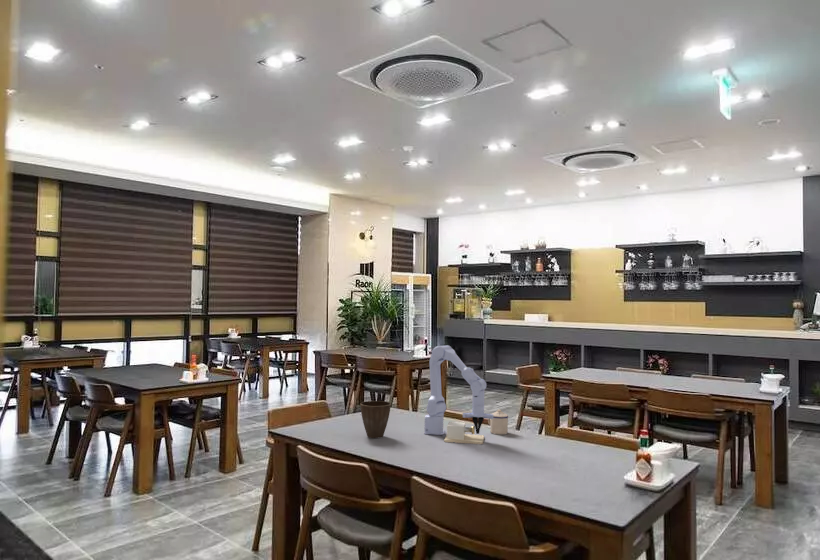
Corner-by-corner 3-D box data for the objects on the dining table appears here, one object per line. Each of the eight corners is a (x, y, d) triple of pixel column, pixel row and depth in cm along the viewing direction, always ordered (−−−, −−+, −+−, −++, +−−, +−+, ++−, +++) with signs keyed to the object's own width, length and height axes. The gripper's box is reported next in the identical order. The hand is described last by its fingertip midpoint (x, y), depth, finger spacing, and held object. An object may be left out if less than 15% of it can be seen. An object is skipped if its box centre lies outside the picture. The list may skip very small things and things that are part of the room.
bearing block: (444, 441, 269) (444, 426, 269) (447, 435, 283) (447, 420, 283) (482, 444, 266) (482, 428, 266) (483, 437, 280) (484, 422, 280)
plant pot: (354, 438, 273) (354, 404, 273) (367, 431, 286) (368, 399, 287) (382, 441, 267) (383, 407, 268) (395, 435, 281) (395, 402, 281)
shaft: (448, 433, 274) (448, 425, 274) (449, 431, 278) (449, 423, 278) (474, 435, 272) (474, 426, 272) (474, 433, 275) (474, 425, 276)
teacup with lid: (511, 433, 289) (512, 410, 290) (499, 435, 284) (499, 412, 284) (494, 429, 299) (494, 406, 299) (482, 431, 293) (482, 408, 294)
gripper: (462, 405, 271) (461, 434, 271) (493, 406, 269) (492, 436, 268) (463, 402, 278) (463, 430, 278) (493, 404, 276) (493, 432, 275)
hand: (477, 433), depth 273 cm, fingers closed
